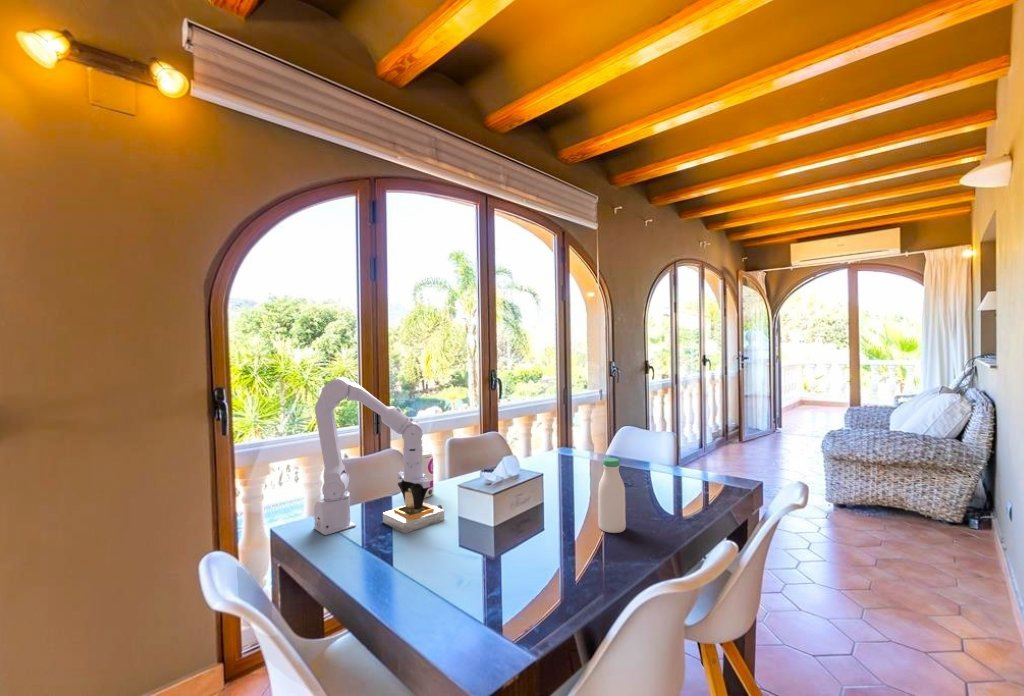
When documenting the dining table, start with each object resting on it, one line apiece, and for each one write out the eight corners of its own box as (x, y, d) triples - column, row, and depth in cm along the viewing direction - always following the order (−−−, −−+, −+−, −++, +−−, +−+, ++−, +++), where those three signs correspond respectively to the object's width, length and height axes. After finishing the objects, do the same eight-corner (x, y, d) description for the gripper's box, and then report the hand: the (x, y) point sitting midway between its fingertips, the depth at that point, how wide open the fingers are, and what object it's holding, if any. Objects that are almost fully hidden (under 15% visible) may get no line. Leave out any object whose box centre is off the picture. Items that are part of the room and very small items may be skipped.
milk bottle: (626, 534, 130) (625, 463, 130) (598, 532, 131) (597, 462, 131) (625, 524, 137) (624, 456, 137) (598, 522, 139) (597, 455, 139)
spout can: (411, 517, 138) (410, 491, 138) (402, 514, 141) (401, 488, 141) (428, 511, 143) (427, 485, 142) (419, 507, 146) (418, 482, 145)
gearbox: (404, 533, 132) (404, 520, 132) (382, 522, 141) (382, 510, 141) (452, 517, 144) (452, 505, 144) (429, 508, 153) (429, 496, 153)
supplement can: (436, 491, 170) (435, 450, 170) (429, 499, 162) (429, 456, 162) (414, 491, 171) (413, 450, 171) (407, 498, 162) (406, 455, 162)
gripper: (438, 463, 139) (438, 508, 139) (410, 455, 149) (411, 498, 149) (418, 468, 134) (418, 515, 134) (391, 459, 144) (392, 503, 144)
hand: (413, 506), depth 141 cm, fingers closed on spout can, 4 cm apart
